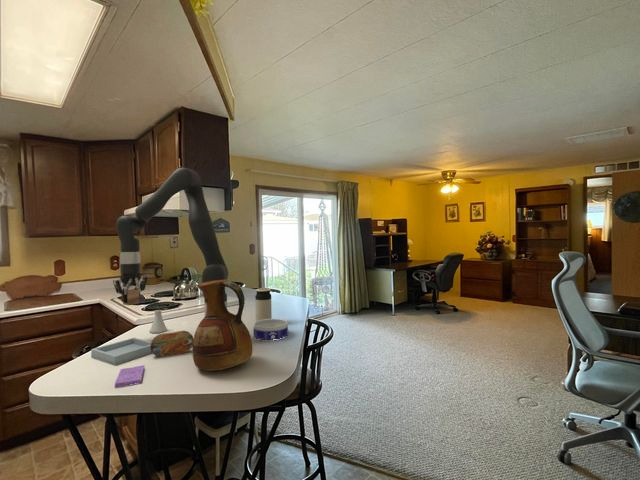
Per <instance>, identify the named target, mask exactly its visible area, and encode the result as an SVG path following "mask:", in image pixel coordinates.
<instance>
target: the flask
mask: <svg viewBox="0 0 640 480" xmlns="http://www.w3.org/2000/svg"><path fill="white" fill-rule="evenodd" d="M153 312H154V317H153V322H152V324H151V327H150V330H149V333H151V334H162V333H164V332H165V333H166V332H167V331H168V328H167V326H166V324H165V322H164V319H163V316H162V313H163V310H161V309H156V310H153Z"/></svg>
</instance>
